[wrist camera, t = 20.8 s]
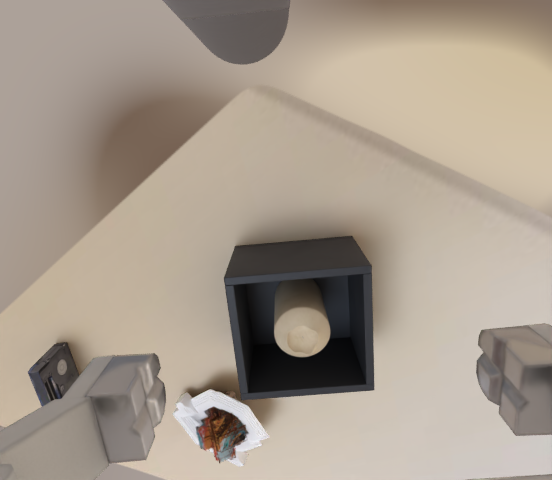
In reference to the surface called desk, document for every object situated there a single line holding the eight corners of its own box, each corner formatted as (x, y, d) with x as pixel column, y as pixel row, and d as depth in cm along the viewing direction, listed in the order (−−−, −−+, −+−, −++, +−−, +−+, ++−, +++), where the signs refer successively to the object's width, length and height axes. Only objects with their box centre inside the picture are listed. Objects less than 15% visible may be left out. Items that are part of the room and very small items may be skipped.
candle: (310, 266, 44) (319, 306, 35) (327, 306, 46) (341, 354, 36) (267, 284, 45) (264, 327, 36) (285, 322, 47) (287, 373, 37)
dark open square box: (234, 246, 44) (223, 278, 35) (352, 235, 44) (371, 265, 35) (248, 347, 48) (241, 400, 39) (355, 339, 48) (374, 390, 39)
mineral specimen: (292, 424, 49) (276, 476, 43) (234, 446, 55) (212, 496, 49) (230, 358, 48) (204, 403, 41) (176, 389, 53) (147, 432, 47)
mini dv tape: (55, 343, 48) (25, 373, 43) (66, 341, 48) (38, 371, 42) (75, 397, 51) (49, 432, 45) (86, 395, 51) (62, 430, 45)
